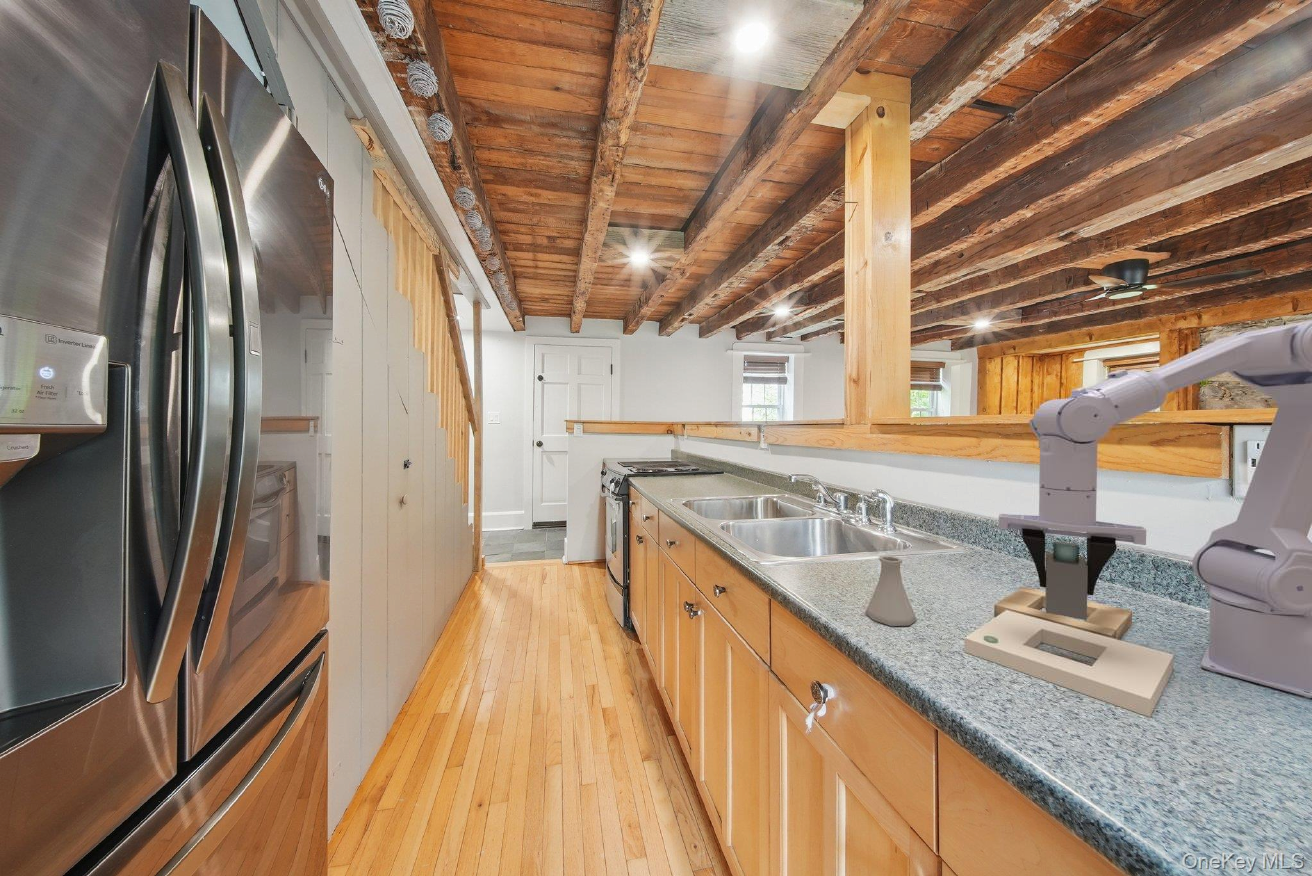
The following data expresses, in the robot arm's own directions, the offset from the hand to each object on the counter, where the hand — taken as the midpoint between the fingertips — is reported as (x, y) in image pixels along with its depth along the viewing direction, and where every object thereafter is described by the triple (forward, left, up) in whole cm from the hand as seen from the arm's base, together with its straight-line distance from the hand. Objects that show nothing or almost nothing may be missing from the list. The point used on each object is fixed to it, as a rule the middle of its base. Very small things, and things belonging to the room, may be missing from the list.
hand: (1065, 588), depth 62 cm
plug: (0, 0, -3) cm, 3 cm away
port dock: (0, 0, -10) cm, 10 cm away
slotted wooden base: (+4, -16, -10) cm, 19 cm away
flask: (+21, +5, -10) cm, 24 cm away
